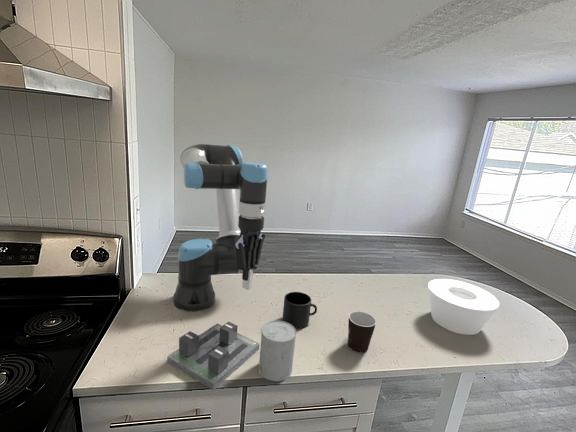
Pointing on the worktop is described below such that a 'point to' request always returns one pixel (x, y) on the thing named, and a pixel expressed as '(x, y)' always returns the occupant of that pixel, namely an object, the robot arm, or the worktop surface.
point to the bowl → (460, 305)
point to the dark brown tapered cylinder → (360, 331)
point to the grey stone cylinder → (277, 350)
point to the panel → (198, 360)
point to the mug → (297, 309)
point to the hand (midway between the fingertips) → (247, 287)
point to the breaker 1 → (188, 343)
